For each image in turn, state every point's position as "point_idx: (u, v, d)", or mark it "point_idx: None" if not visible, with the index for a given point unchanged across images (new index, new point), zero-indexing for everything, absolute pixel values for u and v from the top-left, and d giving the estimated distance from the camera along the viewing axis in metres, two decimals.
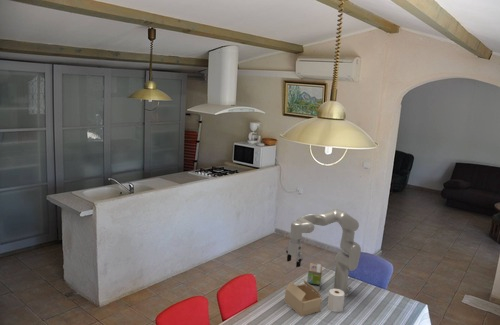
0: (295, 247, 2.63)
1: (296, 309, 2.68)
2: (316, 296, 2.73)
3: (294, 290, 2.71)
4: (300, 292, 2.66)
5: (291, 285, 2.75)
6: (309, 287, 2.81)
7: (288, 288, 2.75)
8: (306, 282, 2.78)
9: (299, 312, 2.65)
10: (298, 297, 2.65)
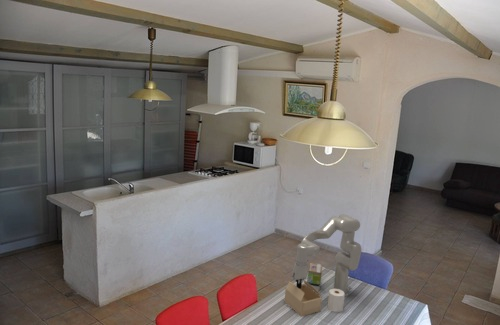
0: (306, 268, 2.67)
1: (296, 309, 2.68)
2: (316, 296, 2.73)
3: (293, 290, 2.70)
4: (299, 292, 2.66)
5: (290, 285, 2.75)
6: (309, 287, 2.81)
7: (288, 288, 2.75)
8: (306, 282, 2.78)
9: (299, 312, 2.65)
10: (298, 297, 2.65)
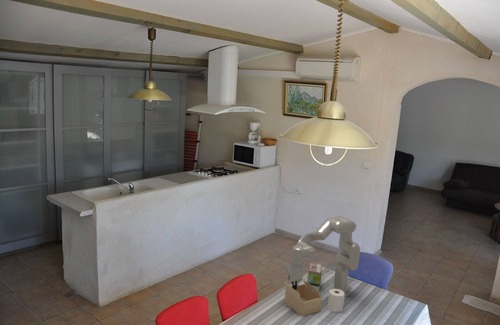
0: (301, 270, 2.66)
1: (296, 309, 2.68)
2: (316, 296, 2.73)
3: (291, 291, 2.70)
4: (296, 293, 2.64)
5: (287, 286, 2.73)
6: (309, 287, 2.81)
7: (287, 288, 2.75)
8: (306, 282, 2.78)
9: (299, 312, 2.65)
10: (297, 297, 2.65)
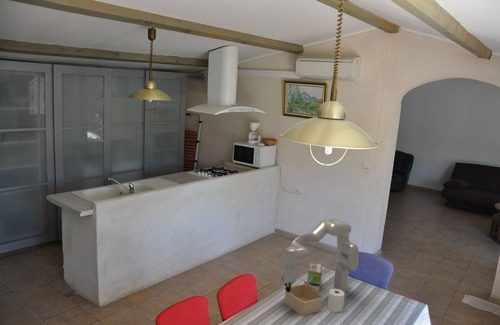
0: (295, 271, 2.63)
1: (296, 309, 2.68)
2: (316, 296, 2.73)
3: (290, 293, 2.69)
4: None
5: (284, 288, 2.73)
6: (309, 287, 2.81)
7: None
8: (306, 282, 2.78)
9: (299, 312, 2.65)
10: (296, 298, 2.65)
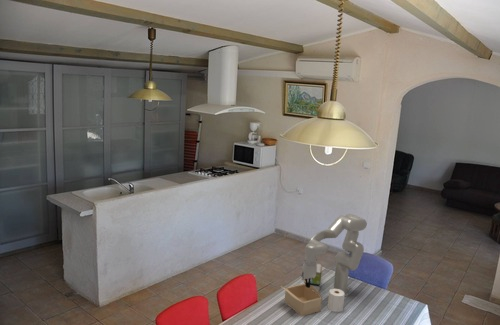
0: (315, 267, 2.71)
1: (296, 309, 2.68)
2: (316, 296, 2.73)
3: (289, 293, 2.69)
4: (293, 296, 2.64)
5: (284, 289, 2.73)
6: None
7: (286, 289, 2.75)
8: None
9: (299, 312, 2.65)
10: (296, 298, 2.65)
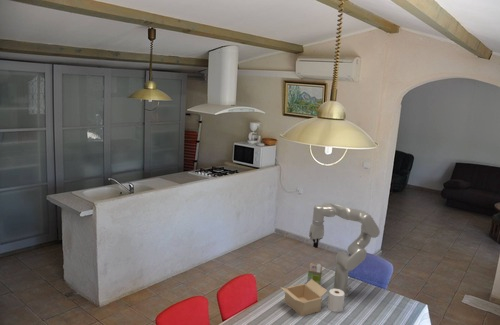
0: (322, 228, 2.81)
1: (296, 309, 2.68)
2: (316, 296, 2.73)
3: None
4: None
5: None
6: (310, 287, 2.81)
7: None
8: (315, 282, 2.82)
9: (299, 312, 2.65)
10: None
